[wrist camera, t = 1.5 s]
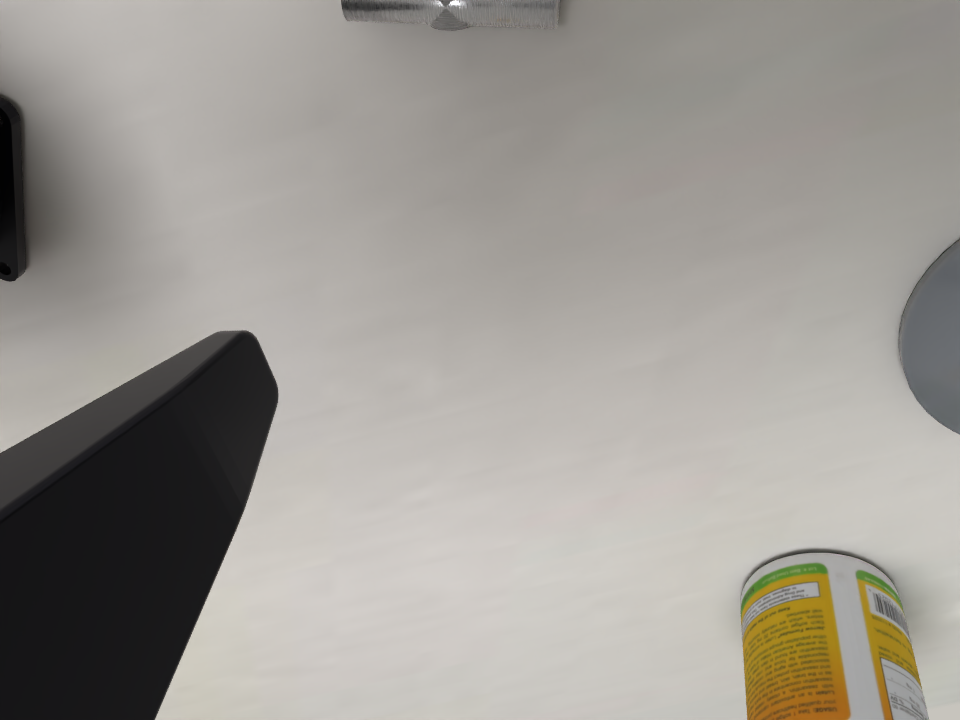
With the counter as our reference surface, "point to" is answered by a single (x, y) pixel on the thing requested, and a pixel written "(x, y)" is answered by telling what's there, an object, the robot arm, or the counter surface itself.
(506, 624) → the counter surface
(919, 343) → the coaster
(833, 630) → the supplement bottle
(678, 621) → the counter surface
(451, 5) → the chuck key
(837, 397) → the counter surface
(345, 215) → the counter surface
